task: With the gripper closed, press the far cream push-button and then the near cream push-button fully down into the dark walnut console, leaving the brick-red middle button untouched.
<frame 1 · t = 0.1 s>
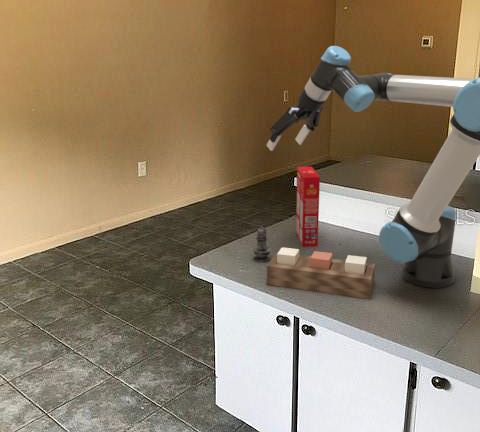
hand: (284, 144, 176), 36 cm above the worktop, tool tilted 35°, fingers open, 13 cm apart
mount: (320, 283, 160), on the worktop
middle button: (321, 262, 157), point 7 cm above the worktop, slide at 0.0 cm
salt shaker: (261, 259, 177), on the worktop
near button: (355, 266, 154), point 7 cm above the worktop, slide at 0.0 cm
food packaging: (306, 239, 194), on the worktop
far button: (288, 258, 161), point 7 cm above the worktop, slide at 0.0 cm
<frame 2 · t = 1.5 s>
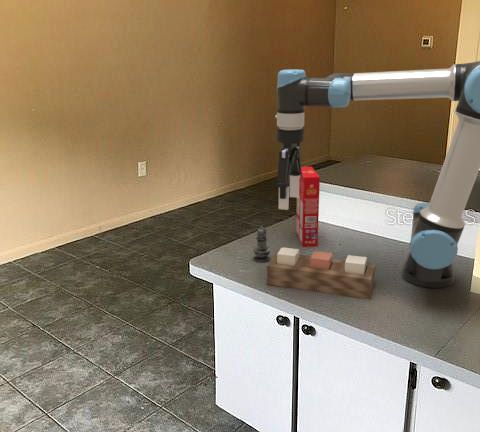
hand: (289, 202, 155), 24 cm above the worktop, tool pointing down, fingers open, 11 cm apart
nothing on the worktop moved.
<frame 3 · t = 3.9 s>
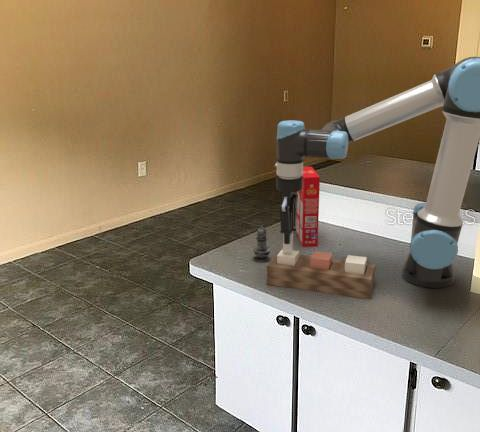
hand: (287, 252, 160), 9 cm above the worktop, tool pointing down, fingers closed
far button: (288, 259, 161), point 6 cm above the worktop, slide at 0.6 cm, touching gripper
everything else where it was.
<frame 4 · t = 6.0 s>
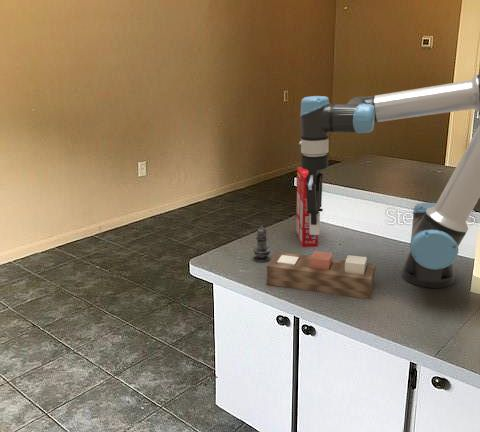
hand: (314, 233, 155), 16 cm above the worktop, tool pointing down, fingers closed
far button: (288, 265, 161), point 4 cm above the worktop, slide at 2.6 cm
everything else where it was.
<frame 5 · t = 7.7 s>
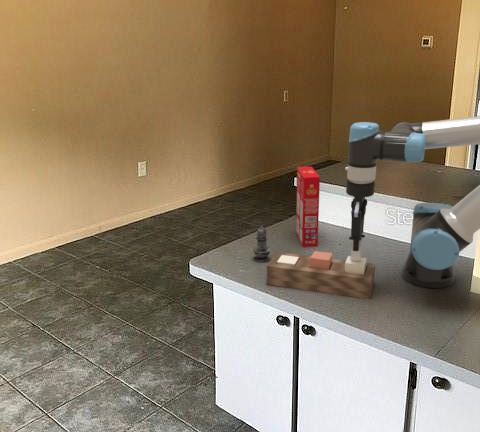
hand: (355, 259, 154), 9 cm above the worktop, tool pointing down, fingers closed
near button: (355, 267, 154), point 7 cm above the worktop, slide at 0.3 cm, touching gripper
everything else where it was.
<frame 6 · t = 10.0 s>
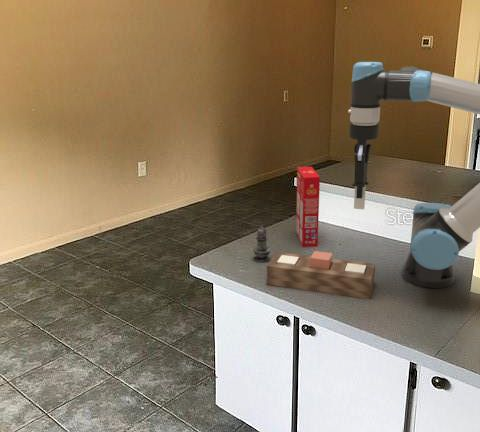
hand: (359, 208, 149), 24 cm above the worktop, tool pointing down, fingers closed
near button: (355, 274, 155), point 4 cm above the worktop, slide at 2.6 cm
everything else where it was.
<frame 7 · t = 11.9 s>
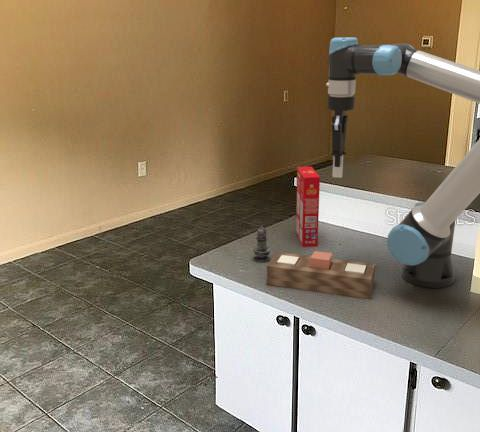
hand: (337, 176, 158), 30 cm above the worktop, tool pointing down, fingers closed
nothing on the worktop moved.
at the end: far button slide at 2.6 cm; near button slide at 2.6 cm; middle button slide at 0.0 cm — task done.
